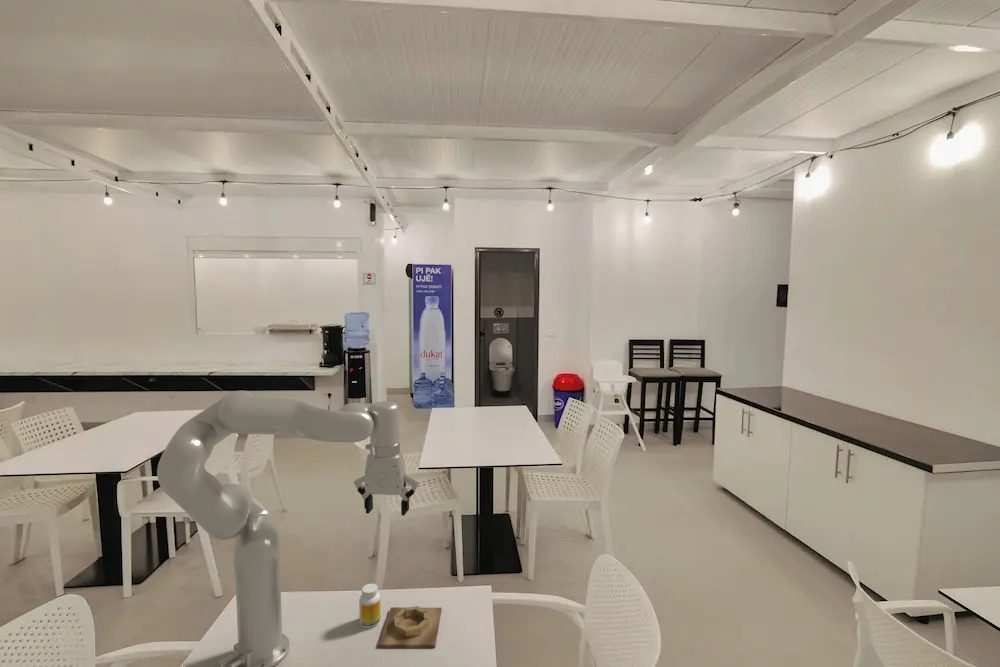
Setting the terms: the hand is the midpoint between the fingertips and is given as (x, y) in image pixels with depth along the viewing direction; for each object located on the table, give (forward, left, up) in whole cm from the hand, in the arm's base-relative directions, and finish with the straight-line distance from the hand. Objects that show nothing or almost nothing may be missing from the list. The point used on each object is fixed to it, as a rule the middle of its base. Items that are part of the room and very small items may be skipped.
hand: (387, 512), depth 127 cm
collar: (0, -8, -30) cm, 31 cm away
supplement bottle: (-4, +3, -30) cm, 30 cm away
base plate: (0, -8, -30) cm, 31 cm away
